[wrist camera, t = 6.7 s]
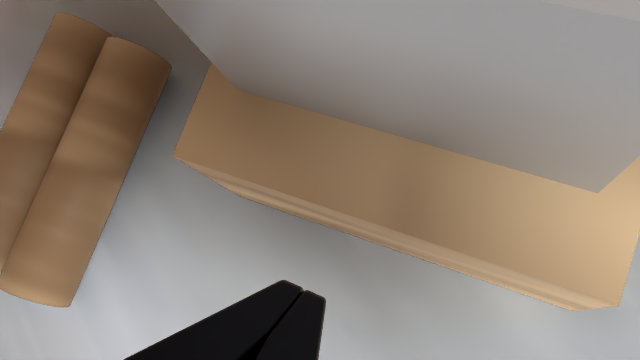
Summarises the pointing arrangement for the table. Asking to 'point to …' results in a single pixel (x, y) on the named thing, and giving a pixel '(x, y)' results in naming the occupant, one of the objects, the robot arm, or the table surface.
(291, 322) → the robot arm
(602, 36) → the grey rectangular block
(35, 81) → the roller
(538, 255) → the tan wooden block
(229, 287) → the table surface
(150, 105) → the roller
